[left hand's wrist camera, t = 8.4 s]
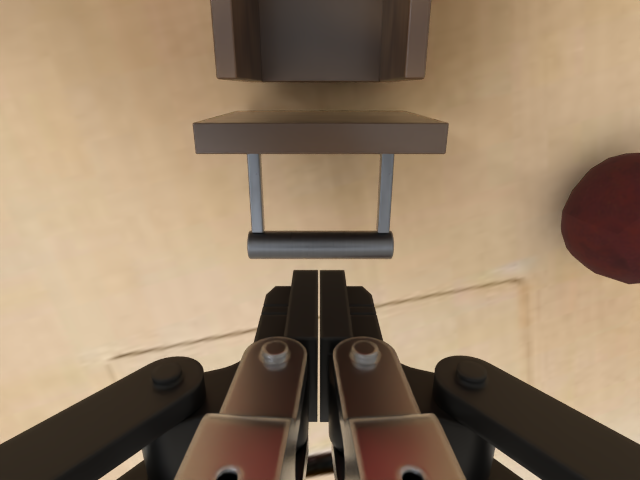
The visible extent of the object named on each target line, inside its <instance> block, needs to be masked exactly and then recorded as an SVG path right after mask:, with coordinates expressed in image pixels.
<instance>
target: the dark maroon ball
mask: <svg viewBox="0 0 640 480" xmlns="http://www.w3.org/2000/svg"><path fill="white" fill-rule="evenodd" d="M561 232H562V235H563V239H564V242H565V245H566V248H567V249H568V250H569V252H570V253H571V254H572V255H573V256H574V257H575V258H576V259H577V260H578V261H580V262H581V263H582V264H583V265H584V266H586V267H587V268H588V269H590V270H591V271H593V272H594V273H596V274H599V275H602V276H605V277H609V278H612V279H615V280H618V281H621V282H624V283H627V284H636V283H640V153H628V154H623V155H619V156H615V157H611V158H608V159H606V160H605V161H603V162H601V163H600V164H598V165H596V166H595V167H593V168H592V169H591V170H590V171H589V172H588V173H587V174H586V175H585V176H584V177H583V178H582V180H581V181H580V182H579V183H578V184H577V186H576V187H575V188H574V189H573V190H572V192H571V194H570V197H569V199H568V201H567V203H566V205H565V207H564V209H563V211H562V221H561Z"/></svg>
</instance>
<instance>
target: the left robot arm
mask: <svg viewBox="0 0 640 480" xmlns="http://www.w3.org/2000/svg"><path fill="white" fill-rule="evenodd" d="M317 391H318V270H294V271H293V278H292V285H291V286H275V287H274V288H273V289H272V290H271V291H270V292H269V293H268V294H267V295H266V298H265V301H264V307H263V309H262V314H261V317H260V321H259V324H258V328H257V332H256V336H255V340H254V343H253V344H251V345H250V346H249V347H248V348H247V349H246V350H245V352H244V354H243V356H242V359H241V361H239V362H238V363H236V364H234V365H231V366H228V367H225V368H222V369H217V370H213V371H208V372H204V371H203V367H202V365H201V364H200V363H199V362H198V361H196V360H194V359H192V358H189V357H179V356H177V357H168V358H164V359H160V360H157V361H155V362H153V363H150V364H148V365H147V366H145V367H143V368H141V369H139V370H137V371H135V372H134V373H132V374H130V375H128V376H126V377H124V378H122V379H121V380H119V381H117V382H115V383H113V384H111V385H110V386H108V387H106V388H104V389H102V390H100V391H98V392H97V393H95V394H93V395H91V396H89V397H87V398H85V399H84V400H82V401H80V402H78V403H76V404H74V405H73V406H71V407H69V408H67V409H65V410H63V411H61V412H60V413H58V414H56V415H54V416H52V417H50V418H48V419H47V420H45V421H43V422H41V423H39V424H37V425H36V426H34V427H32V428H30V429H28V430H26V431H24V432H23V433H21V434H19V435H17V436H15V437H13V438H11V439H10V440H8V441H6V442H4V443H2V444H0V480H98V479H100V478H101V477H103V476H104V475H105V474H107V473H108V472H110V471H111V470H113V469H114V468H116V467H117V466H118V465H120V464H121V463H123V462H124V461H126V460H127V459H128V458H130V457H131V456H133V455H134V454H136V453H137V452H138V451H140V450H141V449H142V452H143V457H144V460H143V461H142V462H140V463H139V464H138V465H136V466H135V467H133V468H132V469H131V470H129V471H128V472H127V473H125V474H124V475H122V476H121V477H120V478H118V479H117V480H305V476H306V468H307V459H308V423H309V422H317ZM320 422H329V437H330V440H331V442H332V459H333V468H334V476H335V480H523V479H522V478H520V477H519V476H518V475H516V474H515V473H513V472H512V471H511V470H509V469H508V468H507V467H505V466H504V465H502V464H501V463H500V462H498V461H497V460H495V459H494V458H493V456H494V451H495V447H496V448H497V449H499V450H500V451H501V452H503V453H504V454H506V455H507V456H509V457H510V458H512V459H513V460H514V461H516V462H517V463H519V464H520V465H522V466H523V467H524V468H526V469H527V470H529V471H530V472H532V473H533V474H534V475H536V476H537V477H539V478H540V479H542V480H640V444H638V443H636V442H634V441H632V440H630V439H629V438H627V437H625V436H623V435H621V434H619V433H617V432H616V431H614V430H612V429H610V428H608V427H606V426H604V425H603V424H601V423H599V422H597V421H595V420H593V419H592V418H590V417H588V416H586V415H584V414H582V413H580V412H579V411H577V410H575V409H573V408H571V407H569V406H567V405H566V404H564V403H562V402H560V401H558V400H556V399H555V398H553V397H551V396H549V395H547V394H545V393H543V392H542V391H540V390H538V389H536V388H534V387H532V386H530V385H529V384H527V383H525V382H523V381H521V380H519V379H518V378H516V377H514V376H512V375H510V374H508V373H506V372H505V371H503V370H501V369H499V368H497V367H495V366H493V365H492V364H490V363H488V362H486V361H483V360H481V359H478V358H474V357H469V356H451V357H447V358H444V359H442V360H441V361H440V362H438V364H437V365H436V368H435V373H433V372H428V371H423V370H419V369H415V368H411V367H408V366H405V365H403V364H401V363H400V361H399V359H398V356H397V354H396V352H395V350H394V349H393V348H392V347H391V346H390V345H389V344H387V343H386V342H384V341H383V339H382V335H381V331H380V327H379V323H378V319H377V315H376V311H375V307H374V303H373V299H372V295H371V294H370V293H369V292H368V291H367V290H366V289H365V288H364V287H362V286H346V279H345V272H344V270H320Z"/></svg>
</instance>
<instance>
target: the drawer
mask: <svg viewBox="0 0 640 480" xmlns="http://www.w3.org/2000/svg"><path fill="white" fill-rule="evenodd" d="M210 3H211V15H212V27H213V40H214V52H215V64H216V76H217V78H218V79H223V80H234V81H245V82H396V81H407V80H418V79H424V77H425V69H426V57H427V45H428V33H429V21H430V9H431V0H210ZM448 125H449V124H448V123H446V122H442V121H439V120H435V119H431V118H428V117H424V116H420V115H417V114H413V113H409V112H406V111H235V112H232V113H228V114H224V115H221V116H217V117H213V118H210V119H206V120H202V121H199V122H195V123H193V131H194V140H195V150H196V154H247V161H248V177H249V194H250V210H251V226H252V231H250V232H249V234H248V241H247V249H248V256H249V258H250V259H391V258H392V256H393V250H394V240H393V234H392V232H391V231H389V229H390V213H391V197H392V181H393V165H394V154H445V153H446V144H447V135H448ZM261 154H380V170H379V189H378V209H377V228H376V229H377V231H264V229H265V227H264V207H263V187H262V167H261Z"/></svg>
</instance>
